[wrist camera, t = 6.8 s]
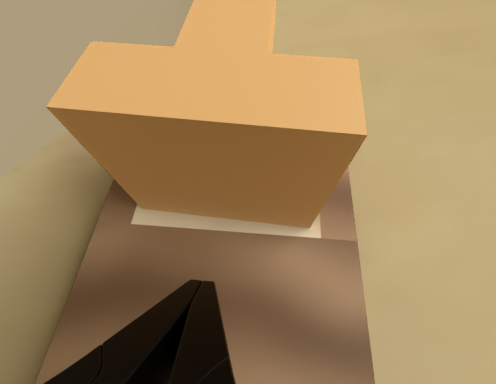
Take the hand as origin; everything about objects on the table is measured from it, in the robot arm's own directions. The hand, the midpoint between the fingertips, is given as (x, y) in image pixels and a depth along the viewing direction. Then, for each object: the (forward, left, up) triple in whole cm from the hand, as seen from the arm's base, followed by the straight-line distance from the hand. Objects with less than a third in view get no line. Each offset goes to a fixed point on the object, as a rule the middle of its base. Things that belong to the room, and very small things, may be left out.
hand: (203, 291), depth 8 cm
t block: (+9, -2, -5) cm, 11 cm away
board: (+5, -1, -6) cm, 8 cm away
